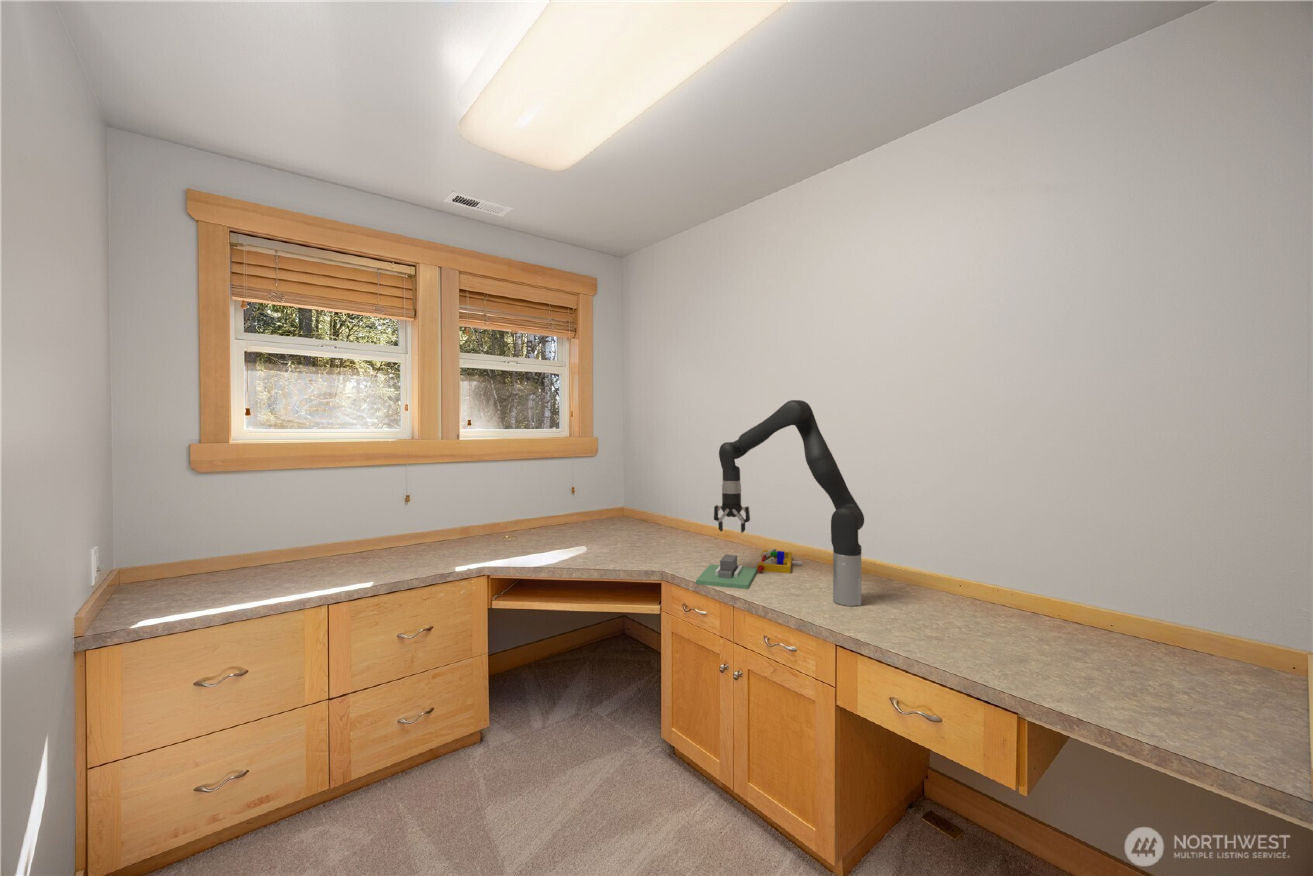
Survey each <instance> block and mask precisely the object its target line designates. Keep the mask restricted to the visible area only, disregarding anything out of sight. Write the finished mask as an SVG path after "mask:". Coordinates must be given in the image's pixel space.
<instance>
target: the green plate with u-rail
mask: <svg viewBox="0 0 1313 876" xmlns="http://www.w3.org/2000/svg"><path fill="white" fill-rule="evenodd" d="M719 571H720V564H713V563H710V564H709V565H708V566H707V567H706V568H705V569H704V570H703V572H702V573H701V574H700V575H699V576H698V577H697V578H696V579H695V584H696V585H704V586H713V587H714V586H715V587H723V588H732V589H741V590H742V589H744V590H748V589H749V587H750V586H751V584H752V582H753V580H754V579H755V576H756V575H757V573H758V571H757V568H756V567H748V566H747V567H746V566H743V565H740V564H737V570H736V571H735V573H734V575H733V576H732V578H731V579H729V578H718V572H719Z"/></svg>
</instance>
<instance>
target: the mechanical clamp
mask: <svg viewBox="0 0 1313 876" xmlns="http://www.w3.org/2000/svg"><path fill="white" fill-rule="evenodd" d="M760 557H761V561H759V562H758V563H757V564H756V567H755V568H757V573H760V574H761V573H762V572H767V573H768V572H769V573H779V574H791V572H792V571H791V569H792V565H798V566H802V565H803V561H801V560H799V561H798V560H793V552H792V551H781V550H777V548H775V547H774V548H772V549H771V550H767V549H763V550H762V551H761V554H760ZM775 559H776V564H775V563H773V564H772V562H775Z"/></svg>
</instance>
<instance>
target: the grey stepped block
mask: <svg viewBox="0 0 1313 876" xmlns="http://www.w3.org/2000/svg"><path fill="white" fill-rule="evenodd" d="M719 565H720V571H719V572H718V578H729V579H731V578H732V576H733V575H734V573H735V571H736V570H737V565H738V555H735V554H724V555H723V556H722V558H720V560H719Z"/></svg>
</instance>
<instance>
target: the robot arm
mask: <svg viewBox="0 0 1313 876" xmlns="http://www.w3.org/2000/svg"><path fill="white" fill-rule="evenodd" d="M791 426H795V427H796V429H797V432H798V433H799V434H800V438H801V440H802V442H803V443H802V444H803V449H804V458H805V461H806V464H807V466H808V468H809V470H810V472H811V475H812V477H813V478H814V480H815V481H816V482H817V484H818V485H819V486H820V487H821V488H822V489H823V490H824V492H825V493H826V494H827V495H828V497H829V499H830V500H831V502H832V505H833V507H834V509H835V511H833V514H832V515H831V519H830V542H831V545H832V548H833V549H832V550H833V551H832V552H833V553H832V561H833V562H832V602H834V604H838V605H840V606H841V605H842V606H847V607H856V606H862V546H861V544H860V543H859V530H861V529H862V528H863V526H864V525H865V515H864V513H863V511H862V509H861V508H860V506H859V504H858V503H857V501H856V500H855V498H854V497H853V494H852V493H851V492H850V490H849V488H848V486H847V484H846V481H845V479H844V477H843V475H842V473H841V471H840V469H839V466H838V464H837V462H836V460H835V458H834V456H833V454H832V452H831V450H830V448H829V446H828V444H827V442H826V440H825V438H824V437H823V435H822V433H821V430H820V428H819V425H818V422H817V419H816V418H815V415H814V412H813V409H812V408H811V406H810V404H809V403H808V402H806V401H805V400H801V399H797V400H796V399H790V400H788V401H786V402H785V403H784V404H783V405H781V406H780V407H779V408H778V409H776V411H774V412H773V413H772V414H771V415H770V416H768V417H767V418H766V419H764V420H763V421H761V422H760V423H758V424H756V425H754V426H753V427H751V428H749V429H748V430H746V431H745V432H743V433H742V434H740V435H739V437H738V439H737V440H734V441H728V442H723V443H722V444H721V445H720V447H719V451H718V457H719V461H720V465H721V469H722V485H721V496H722V497H721V502H722V503H721V505H718V504H716V505H715V506H714V510H713V520H714V521H716V522H717V523H718V526H717V527H718V530H719V532H723V531H724V521H723V520H724V519H725V518H726V517H727V518H731V517H732V518H736V517H737V519H738V520H739V521H740V532H741V534H743V533H744V532H745V531H746V524H747V523H749V522H750V520H751V516H750V507H749V506H748V505H747V506H743V505H742V485H741V469H740V467H739V466H738V465H736V460H738V459H740V458H742V457H743V456H744V455H746V454H747V453H749V452H750V451H751V450H753V449H754V448H756V447H758V446H760V445H761V444H763V443H764V442H766V441H767V440H769V438H770V437H772V436H773V435H774V434H775V433H777V432H778V431H780V430H783V429H785V428H787V427H791ZM720 510H721V511H722V512H723V513H722V514H721V516H720V517H719V512H720ZM742 511H743V512H744V513H745V518H744V517H743V516H744V515H742V513H741V512H742Z"/></svg>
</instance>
